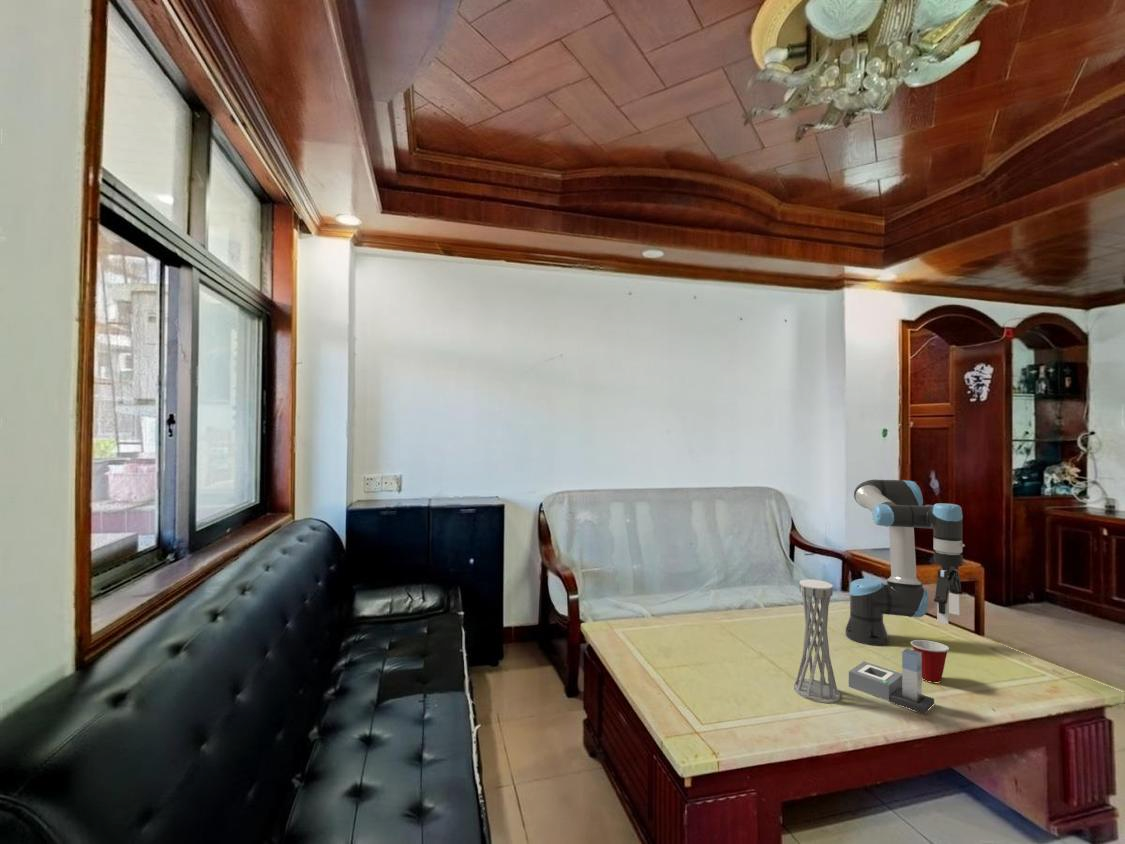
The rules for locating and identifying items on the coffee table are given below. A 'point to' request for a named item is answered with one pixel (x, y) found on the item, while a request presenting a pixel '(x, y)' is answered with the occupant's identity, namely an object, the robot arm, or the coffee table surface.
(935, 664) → the plastic cup
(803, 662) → the grey tall lattice tower
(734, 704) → the coffee table surface
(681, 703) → the coffee table surface
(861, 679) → the port
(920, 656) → the plug
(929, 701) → the dark grey slot tray
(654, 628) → the coffee table surface
